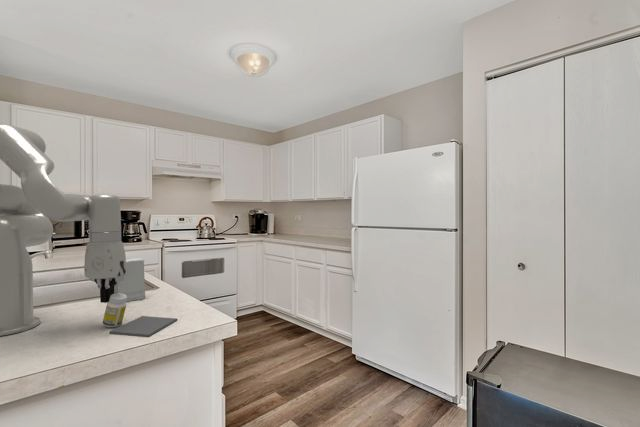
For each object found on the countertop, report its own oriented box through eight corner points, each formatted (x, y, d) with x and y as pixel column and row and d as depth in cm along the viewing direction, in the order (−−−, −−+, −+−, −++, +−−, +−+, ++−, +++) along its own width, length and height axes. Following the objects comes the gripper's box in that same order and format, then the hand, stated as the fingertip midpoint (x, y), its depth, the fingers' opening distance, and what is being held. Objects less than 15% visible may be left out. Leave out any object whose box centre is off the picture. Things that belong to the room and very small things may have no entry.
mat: (109, 333, 83) (109, 331, 83) (142, 317, 95) (142, 315, 95) (148, 337, 81) (148, 334, 81) (177, 320, 93) (177, 318, 93)
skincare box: (142, 295, 119) (142, 257, 119) (145, 299, 114) (145, 259, 114) (116, 299, 114) (116, 259, 113) (118, 303, 109) (118, 261, 109)
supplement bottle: (118, 318, 92) (125, 291, 92) (124, 326, 89) (131, 298, 89) (100, 320, 89) (106, 293, 88) (105, 328, 86) (112, 300, 85)
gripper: (71, 239, 86) (73, 304, 87) (117, 239, 84) (119, 306, 84) (94, 236, 94) (96, 296, 94) (138, 236, 91) (140, 298, 92)
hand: (107, 301), depth 89 cm, fingers closed
